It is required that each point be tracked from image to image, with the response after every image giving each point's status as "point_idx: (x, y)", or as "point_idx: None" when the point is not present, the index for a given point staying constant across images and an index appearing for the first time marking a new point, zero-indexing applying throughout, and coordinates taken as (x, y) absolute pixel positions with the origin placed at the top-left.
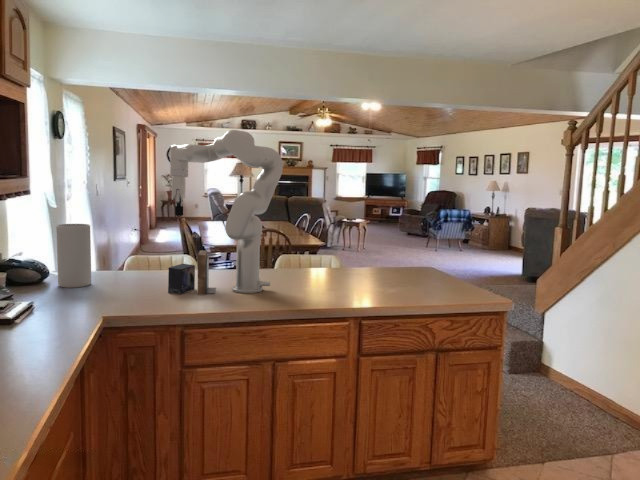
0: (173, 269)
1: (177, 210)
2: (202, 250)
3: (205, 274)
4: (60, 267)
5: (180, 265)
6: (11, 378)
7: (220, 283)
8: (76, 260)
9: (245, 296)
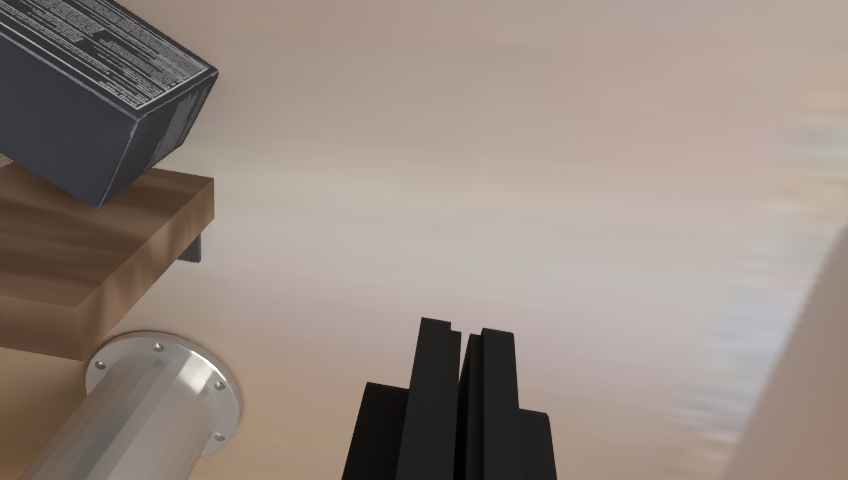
0: None
1: (352, 443)
2: (78, 326)
3: None
4: None
5: (32, 97)
6: None
7: (337, 302)
8: None
9: (36, 359)
